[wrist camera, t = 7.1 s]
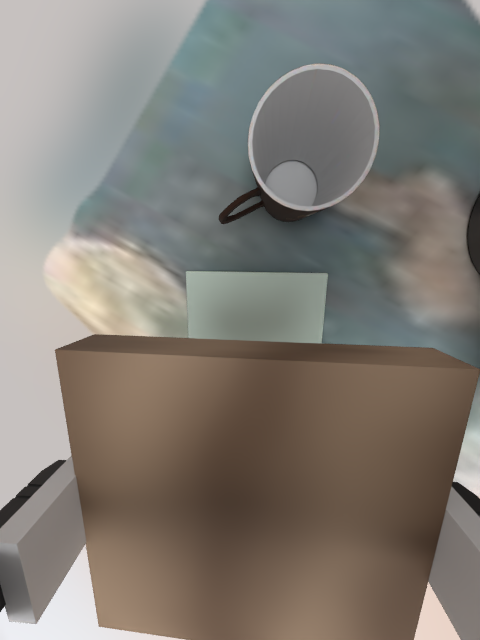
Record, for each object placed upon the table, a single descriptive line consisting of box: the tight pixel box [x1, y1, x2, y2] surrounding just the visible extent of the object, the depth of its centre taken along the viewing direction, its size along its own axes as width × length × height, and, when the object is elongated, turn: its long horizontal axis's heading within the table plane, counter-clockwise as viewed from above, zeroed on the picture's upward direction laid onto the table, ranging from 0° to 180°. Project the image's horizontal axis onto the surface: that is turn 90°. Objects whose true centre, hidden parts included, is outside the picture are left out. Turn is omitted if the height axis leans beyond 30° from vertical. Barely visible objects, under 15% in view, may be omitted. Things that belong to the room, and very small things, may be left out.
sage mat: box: [186, 271, 328, 344], centre depth 29 cm, size 16×15×1 cm
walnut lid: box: [55, 334, 480, 640], centre depth 8 cm, size 11×11×2 cm
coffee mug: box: [219, 64, 379, 224], centre depth 21 cm, size 12×9×10 cm
